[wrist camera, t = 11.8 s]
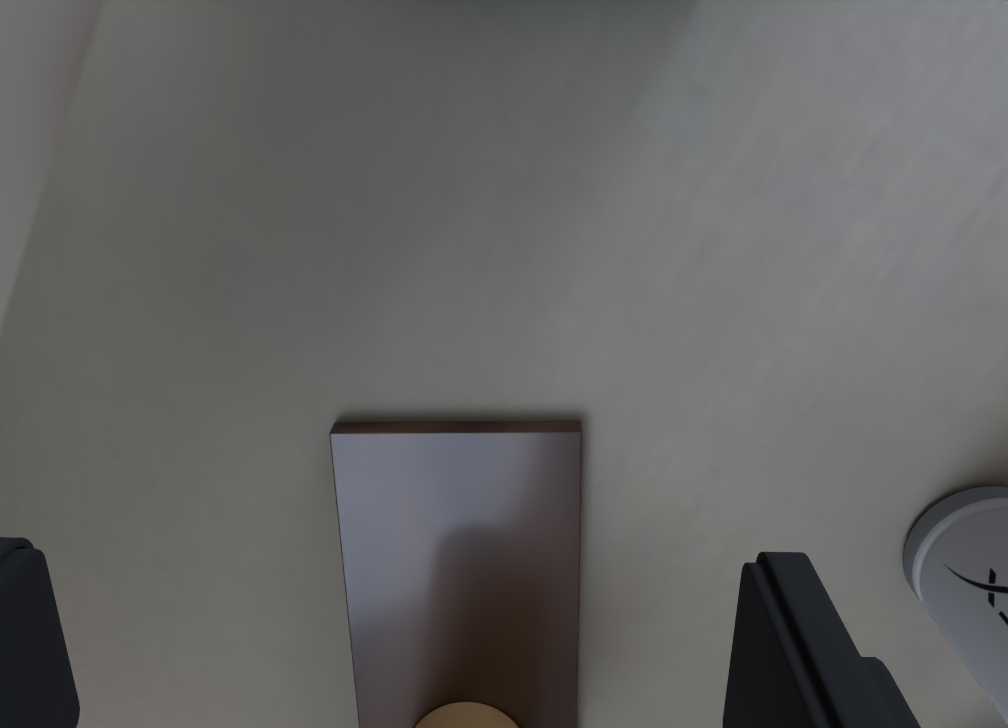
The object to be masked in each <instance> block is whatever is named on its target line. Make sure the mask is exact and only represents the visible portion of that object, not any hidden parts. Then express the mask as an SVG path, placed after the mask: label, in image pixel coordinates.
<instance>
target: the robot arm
mask: <svg viewBox="0 0 1008 728" xmlns="http://www.w3.org/2000/svg"><path fill="white" fill-rule="evenodd" d="M79 712H80V706H79V700H78V696H77V691H76V687H75V683H74V679H73V674H72V670H71V666H70V661H69V657H68V653H67V648H66V644H65V640H64V636H63V631H62V627H61V623H60V618H59V614H58V610H57V606H56V601H55V597H54V593H53V588H52V584H51V580H50V576H49V571H48V567H47V563H46V559H45V556H44V554H43V553H42V551H41V550H38V549H34V547H33V545H32V543H31V542H30V541H29V540H28V539H25V538H7V537H0V728H76V726H77V724H78V719H79ZM723 728H921V727H920V726H919V724H918V722H917V720H916V718H915V717H914V715H913V713H912V711H911V710H910V708H909V706H908V704H907V702H906V701H905V699H904V697H903V695H902V693H901V692H900V690H899V688H898V686H897V685H896V683H895V681H894V679H893V677H892V676H891V674H890V672H889V670H888V669H887V668H886V666H885V665H884V663H883V662H882V661H880V660H879V659H877V658H876V657H861V656H860V654H859V652H858V651H857V649H856V647H855V645H854V643H853V641H852V639H851V637H850V635H849V634H848V632H847V630H846V628H845V626H844V624H843V622H842V620H841V618H840V616H839V615H838V613H837V611H836V609H835V607H834V605H833V603H832V601H831V599H830V598H829V596H828V594H827V592H826V590H825V588H824V586H823V584H822V582H821V580H820V579H819V577H818V575H817V573H816V571H815V569H814V567H813V565H812V563H811V562H810V560H809V558H808V557H807V555H806V554H805V553H800V552H761V553H759V555H758V557H757V560H756V563H745V564H744V565H743V568H742V573H741V581H740V589H739V597H738V605H737V612H736V620H735V628H734V636H733V644H732V652H731V660H730V668H729V675H728V683H727V691H726V699H725V707H724V715H723Z"/></svg>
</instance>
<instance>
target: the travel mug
mask: <svg viewBox="0 0 1008 728" xmlns="http://www.w3.org/2000/svg"><path fill="white" fill-rule="evenodd" d="M903 569H904V573H905V576H906V579H907V581H908V583H909V585H910V586H911V588H912V590H913V591H914V593H915V594H916V596H917V597H918V598H919V600H920V601H921V603H922V604H923V605H924V607H925V608H926V609H927V610H928V612H929V614H930V615H931V617H932V618H933V620H934V621H935V623H936V624H937V625H938V627H939V628H940V630H941V631H942V633H943V634H944V635H945V637H946V638H947V640H948V641H949V642H950V644H951V645H952V647H953V648H954V650H955V651H956V652H957V654H958V655H959V657H960V658H961V660H962V661H963V662H964V664H965V665H966V667H967V668H968V670H969V671H970V672H971V674H972V675H973V677H974V678H975V679H976V681H977V682H978V684H979V685H980V687H981V688H982V689H983V691H984V692H985V694H986V695H987V697H988V698H989V699H990V701H991V702H992V704H993V705H994V707H995V708H996V709H997V711H998V712H999V714H1000V715H1001V716H1002V718H1003V719H1004V721H1005V722H1006V724H1007V725H1008V488H1007V487H1001V486H984V487H978V488H971V489H968V490H964V491H961V492H958V493H955V494H953V495H951V496H949V497H947V498H945V499H943V500H941V501H940V502H939V503H937V504H936V505H934V506H933V507H931V508H930V509H929V510H928V511H927V512H926V513H925V514H924V515H923V516H922V517H921V518H920V519H919V520H918V522H917V523H916V525H915V526H914V527H913V529H912V530H911V532H910V535H909V537H908V539H907V541H906V544H905V549H904V553H903Z"/></svg>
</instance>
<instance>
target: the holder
mask: <svg viewBox="0 0 1008 728" xmlns="http://www.w3.org/2000/svg"><path fill="white" fill-rule="evenodd" d="M330 443H331V453H332V463H333V473H334V483H335V492H336V502H337V512H338V522H339V532H340V542H341V552H342V561H343V571H344V581H345V591H346V601H347V611H348V621H349V630H350V640H351V650H352V660H353V670H354V680H355V690H356V699H357V709H358V719H359V728H415V727H416V726H417V724H418V723H419V722H420V721H421V720H422V719H423V718H424V717H425V716H426V715H428V714H429V713H430V712H432V711H434V710H435V709H437V708H440V707H442V706H445V705H448V704H452V703H458V702H475V703H480V704H484V705H488V706H491V707H493V708H495V709H497V710H499V711H501V712H502V713H504V714H505V715H507V716H508V717H509V718H510V719H511V720H512V721H513V722H514V723H515V724H516V725H517V726H518V728H576V722H577V670H578V618H579V567H580V515H581V463H582V428H581V422H580V421H543V422H362V423H334V425H333V427H332V429H331V431H330Z"/></svg>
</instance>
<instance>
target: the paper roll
mask: <svg viewBox="0 0 1008 728" xmlns="http://www.w3.org/2000/svg"><path fill="white" fill-rule="evenodd" d="M415 728H518V726H517V725H516V724H515V723H514V722H513V721H512V720H511V719H510V718H509V717H508V716H507V715H505V714H504V713H502V712H501V711H499V710H497V709H495V708H493V707H491V706H488V705H484V704H480V703H475V702H458V703H452V704H448V705H445V706H442V707H440V708H437V709H435V710H434V711H432V712H430V713H429V714H428V715H426V716H425V717H424V718H423V719H422V720H421V721H420V722H419V723H418V724H417V726H416V727H415Z"/></svg>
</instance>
